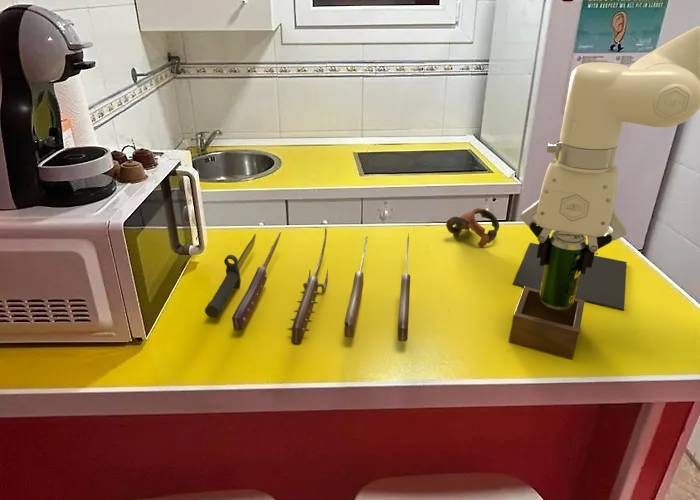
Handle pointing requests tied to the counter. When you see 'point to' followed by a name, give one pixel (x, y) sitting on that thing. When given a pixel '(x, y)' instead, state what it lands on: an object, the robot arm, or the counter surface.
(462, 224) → the brown curved piece
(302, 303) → the knife set
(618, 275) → the mat
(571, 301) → the beer can
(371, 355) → the counter surface
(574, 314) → the box
